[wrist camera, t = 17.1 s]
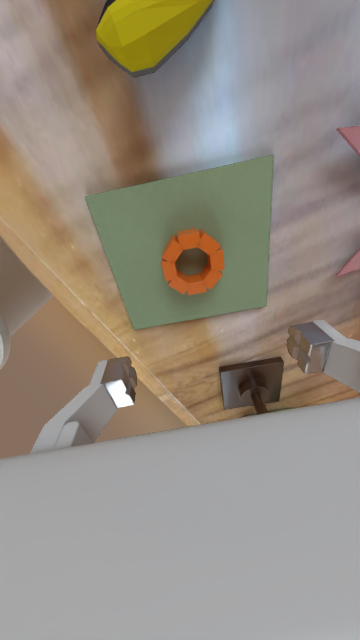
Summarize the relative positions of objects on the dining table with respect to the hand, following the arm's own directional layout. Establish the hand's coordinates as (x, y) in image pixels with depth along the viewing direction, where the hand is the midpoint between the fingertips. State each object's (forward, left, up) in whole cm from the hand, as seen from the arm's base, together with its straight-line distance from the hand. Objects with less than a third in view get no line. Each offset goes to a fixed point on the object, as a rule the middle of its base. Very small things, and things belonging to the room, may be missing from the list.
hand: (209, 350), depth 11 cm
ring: (+1, 0, -16) cm, 16 cm away
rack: (+7, -23, -16) cm, 30 cm away
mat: (0, 0, -16) cm, 16 cm away
